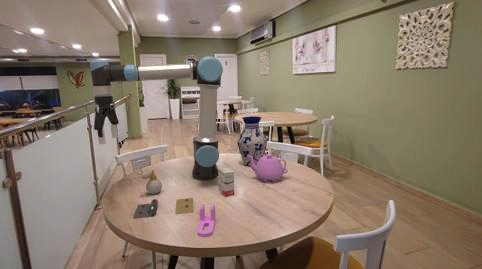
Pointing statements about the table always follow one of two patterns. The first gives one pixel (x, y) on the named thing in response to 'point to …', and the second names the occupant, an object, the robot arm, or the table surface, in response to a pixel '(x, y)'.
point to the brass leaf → (184, 206)
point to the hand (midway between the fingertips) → (109, 140)
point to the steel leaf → (146, 209)
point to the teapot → (268, 168)
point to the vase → (251, 141)
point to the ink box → (226, 181)
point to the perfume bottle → (152, 182)
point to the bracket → (206, 221)
